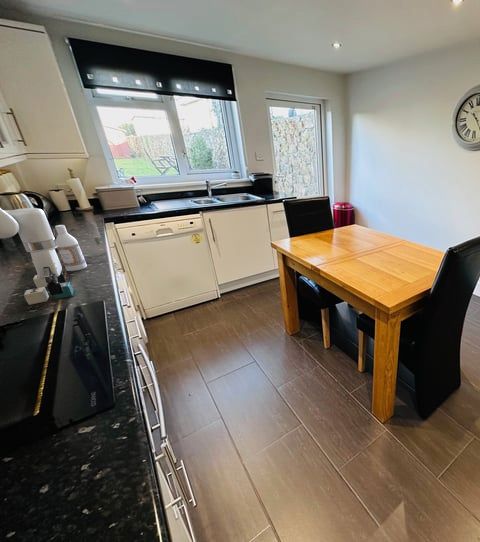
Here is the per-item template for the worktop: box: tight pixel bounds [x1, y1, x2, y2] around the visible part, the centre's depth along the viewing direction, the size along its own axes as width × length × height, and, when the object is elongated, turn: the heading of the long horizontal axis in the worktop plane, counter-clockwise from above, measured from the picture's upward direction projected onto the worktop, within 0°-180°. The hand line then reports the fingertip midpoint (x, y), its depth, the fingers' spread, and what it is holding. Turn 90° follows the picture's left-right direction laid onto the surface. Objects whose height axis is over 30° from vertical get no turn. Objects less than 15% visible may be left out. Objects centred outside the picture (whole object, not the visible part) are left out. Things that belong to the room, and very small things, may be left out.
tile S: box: [54, 281, 74, 299], centre depth 104 cm, size 4×4×4 cm
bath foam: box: [54, 224, 88, 272], centre depth 124 cm, size 7×7×20 cm
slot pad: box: [51, 289, 77, 302], centre depth 105 cm, size 6×6×1 cm
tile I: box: [23, 287, 50, 306], centre depth 100 cm, size 4×4×4 cm
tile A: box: [32, 274, 52, 288], centre depth 112 cm, size 4×4×4 cm
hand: (59, 289), depth 103 cm, fingers open, 9 cm apart
